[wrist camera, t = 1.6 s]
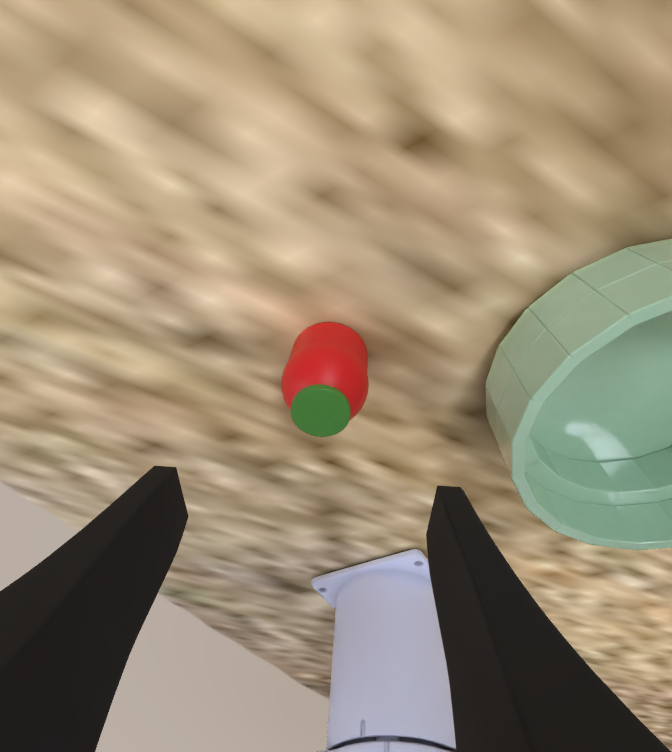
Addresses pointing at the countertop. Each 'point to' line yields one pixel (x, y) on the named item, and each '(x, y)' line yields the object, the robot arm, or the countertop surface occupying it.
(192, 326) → the countertop surface
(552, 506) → the bowl
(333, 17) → the countertop surface
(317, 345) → the strawberry
